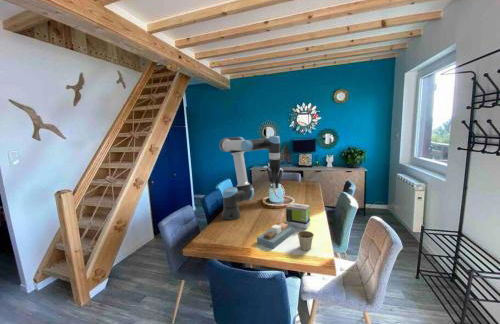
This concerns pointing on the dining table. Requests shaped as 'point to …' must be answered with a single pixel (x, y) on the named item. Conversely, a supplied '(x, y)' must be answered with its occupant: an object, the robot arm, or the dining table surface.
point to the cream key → (276, 229)
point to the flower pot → (305, 239)
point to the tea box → (298, 215)
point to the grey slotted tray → (277, 238)
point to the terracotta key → (283, 226)
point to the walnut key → (269, 235)
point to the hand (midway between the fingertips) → (275, 192)
